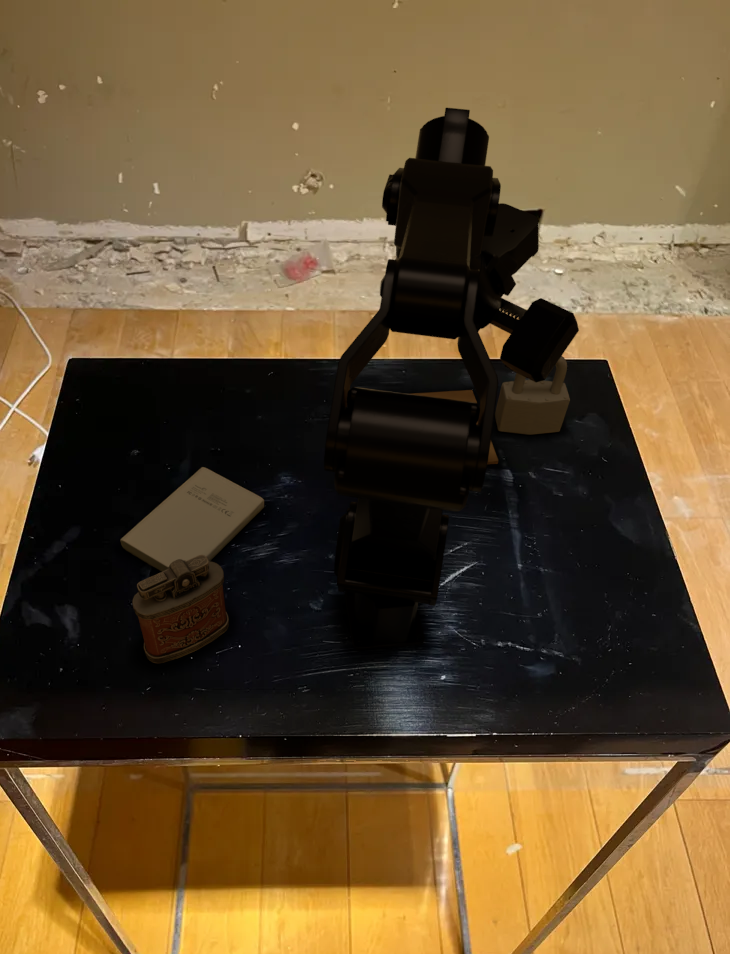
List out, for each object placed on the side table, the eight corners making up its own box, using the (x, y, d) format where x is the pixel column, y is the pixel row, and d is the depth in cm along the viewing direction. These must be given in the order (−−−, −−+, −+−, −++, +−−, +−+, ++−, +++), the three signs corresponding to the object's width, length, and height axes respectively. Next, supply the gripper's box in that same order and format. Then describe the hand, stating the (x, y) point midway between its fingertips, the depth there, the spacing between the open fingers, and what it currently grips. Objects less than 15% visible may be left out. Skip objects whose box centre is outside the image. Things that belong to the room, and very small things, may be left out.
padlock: (498, 435, 93) (516, 364, 85) (493, 412, 96) (510, 340, 88) (560, 436, 93) (584, 365, 86) (553, 412, 96) (576, 341, 88)
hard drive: (122, 549, 81) (203, 475, 88) (186, 587, 78) (264, 508, 85) (119, 538, 80) (201, 464, 87) (184, 577, 77) (264, 497, 84)
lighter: (218, 605, 77) (209, 535, 69) (235, 630, 75) (229, 562, 68) (138, 643, 74) (120, 575, 66) (154, 671, 72) (138, 604, 65)
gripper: (602, 224, 63) (627, 312, 77) (418, 150, 72) (470, 241, 86) (518, 347, 64) (558, 413, 78) (347, 260, 73) (409, 332, 87)
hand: (497, 344), depth 82 cm, fingers open, 9 cm apart
